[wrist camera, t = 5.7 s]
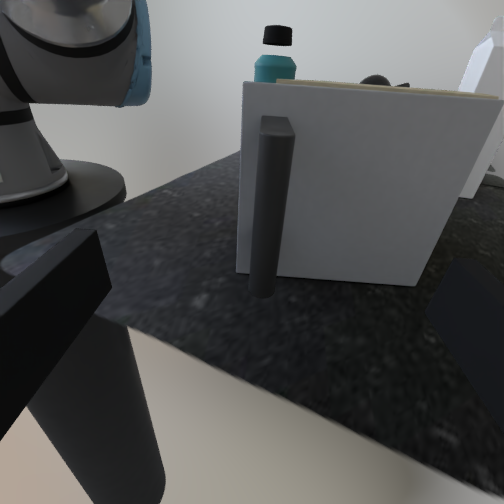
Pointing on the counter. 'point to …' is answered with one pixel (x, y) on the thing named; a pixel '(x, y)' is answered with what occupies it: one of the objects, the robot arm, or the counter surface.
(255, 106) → the oven door
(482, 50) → the milk
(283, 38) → the beverage bottle
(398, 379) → the counter surface
